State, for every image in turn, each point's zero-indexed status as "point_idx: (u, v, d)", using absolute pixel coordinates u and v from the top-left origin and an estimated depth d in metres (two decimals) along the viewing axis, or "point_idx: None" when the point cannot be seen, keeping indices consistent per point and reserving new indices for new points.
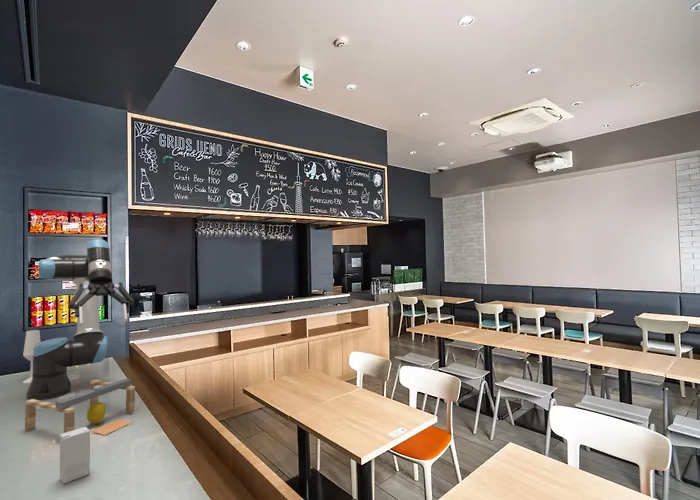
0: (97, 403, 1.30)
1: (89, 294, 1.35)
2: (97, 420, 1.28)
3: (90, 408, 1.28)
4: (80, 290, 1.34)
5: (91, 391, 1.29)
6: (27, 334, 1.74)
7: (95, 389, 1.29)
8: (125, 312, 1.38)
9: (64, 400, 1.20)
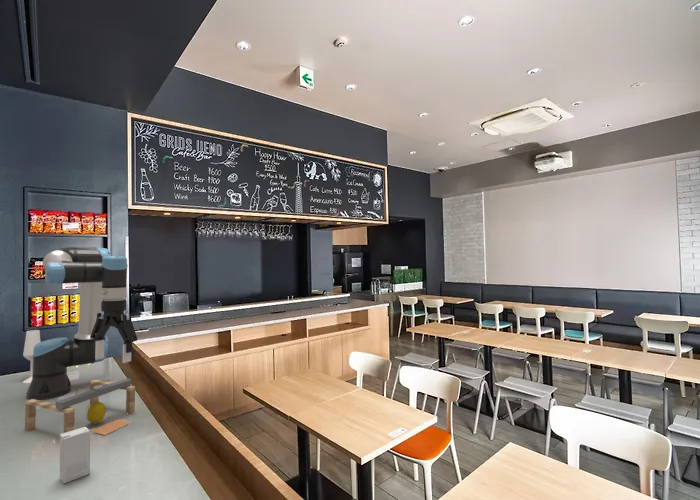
0: (97, 403, 1.30)
1: (102, 327, 1.29)
2: (97, 420, 1.28)
3: (90, 408, 1.28)
4: (97, 321, 1.30)
5: (91, 391, 1.29)
6: (27, 334, 1.74)
7: (95, 389, 1.29)
8: (123, 355, 1.25)
9: (64, 400, 1.20)
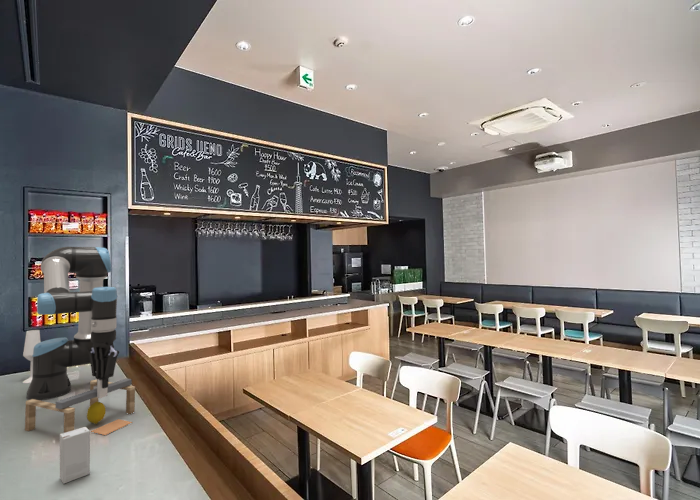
0: (97, 403, 1.30)
1: (97, 361, 1.29)
2: (97, 420, 1.28)
3: (90, 408, 1.28)
4: (91, 357, 1.30)
5: (91, 391, 1.29)
6: (27, 334, 1.74)
7: (95, 389, 1.29)
8: (99, 390, 1.28)
9: (64, 400, 1.20)
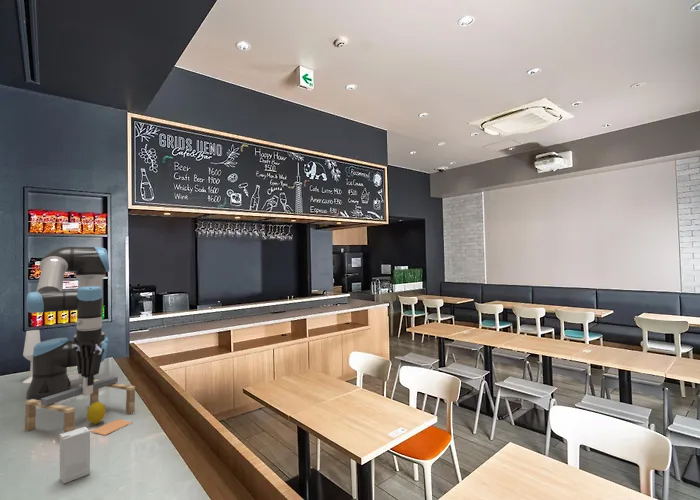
0: (97, 403, 1.30)
1: (82, 358, 1.32)
2: (97, 420, 1.28)
3: (90, 408, 1.28)
4: (76, 355, 1.33)
5: (77, 388, 1.31)
6: (27, 334, 1.74)
7: (81, 386, 1.32)
8: (84, 388, 1.31)
9: (49, 397, 1.23)
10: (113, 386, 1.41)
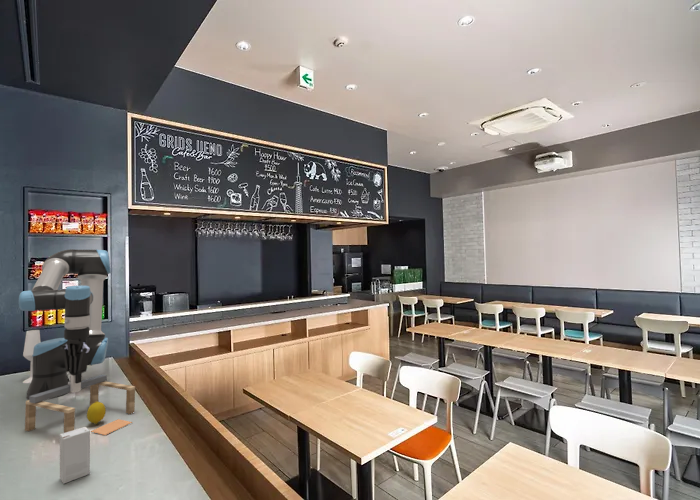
0: (97, 403, 1.30)
1: (70, 357, 1.34)
2: (97, 420, 1.28)
3: (90, 408, 1.28)
4: (64, 353, 1.35)
5: (65, 386, 1.33)
6: (27, 334, 1.74)
7: (69, 384, 1.34)
8: (72, 385, 1.33)
9: (38, 395, 1.25)
10: (113, 386, 1.41)
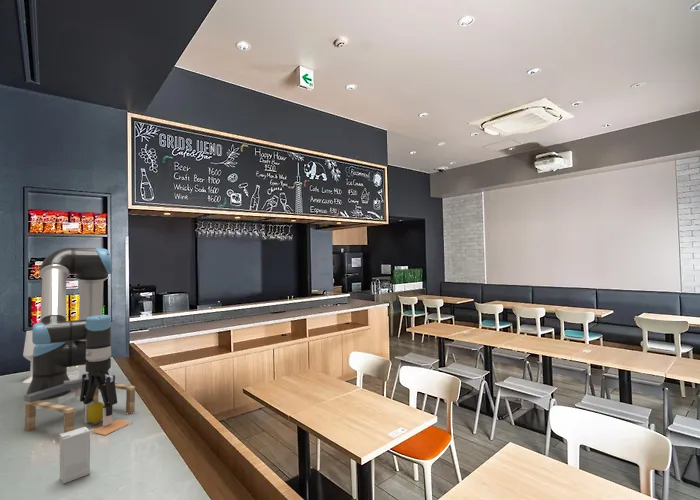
0: (97, 403, 1.30)
1: (89, 388, 1.30)
2: (97, 420, 1.28)
3: (90, 408, 1.28)
4: (83, 383, 1.31)
5: (61, 385, 1.34)
6: (27, 334, 1.74)
7: (65, 383, 1.35)
8: (103, 418, 1.27)
9: (33, 394, 1.26)
10: None
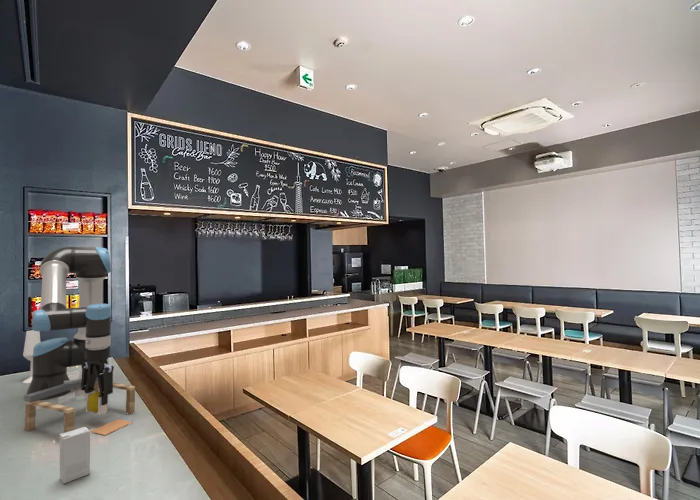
0: (98, 393, 1.30)
1: (89, 377, 1.30)
2: (97, 410, 1.29)
3: (91, 398, 1.29)
4: (83, 371, 1.32)
5: (61, 385, 1.34)
6: (27, 334, 1.74)
7: (65, 383, 1.35)
8: (98, 407, 1.28)
9: (33, 394, 1.26)
10: (113, 386, 1.41)
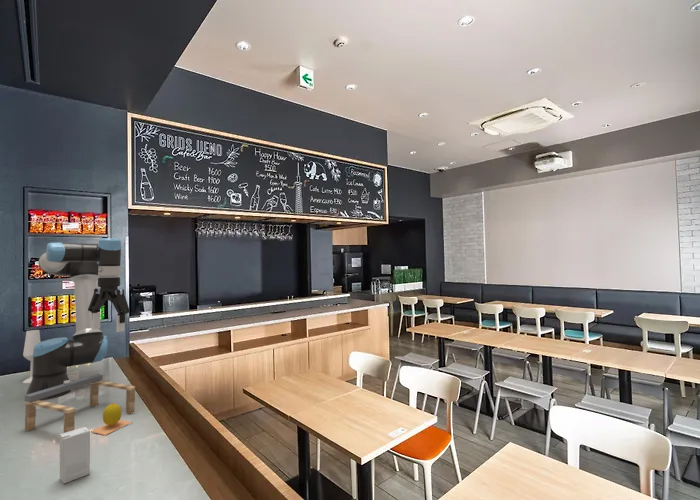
0: (113, 405, 1.27)
1: (98, 301, 1.45)
2: (113, 422, 1.26)
3: (106, 410, 1.26)
4: (94, 296, 1.46)
5: (61, 385, 1.34)
6: (27, 334, 1.74)
7: (65, 383, 1.35)
8: (117, 325, 1.41)
9: (33, 394, 1.26)
10: (113, 386, 1.41)
